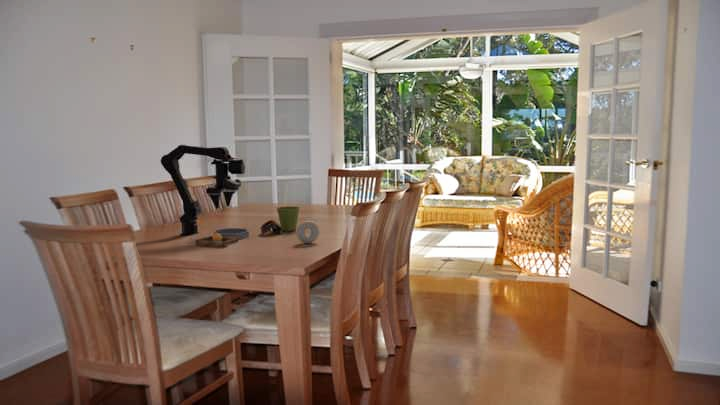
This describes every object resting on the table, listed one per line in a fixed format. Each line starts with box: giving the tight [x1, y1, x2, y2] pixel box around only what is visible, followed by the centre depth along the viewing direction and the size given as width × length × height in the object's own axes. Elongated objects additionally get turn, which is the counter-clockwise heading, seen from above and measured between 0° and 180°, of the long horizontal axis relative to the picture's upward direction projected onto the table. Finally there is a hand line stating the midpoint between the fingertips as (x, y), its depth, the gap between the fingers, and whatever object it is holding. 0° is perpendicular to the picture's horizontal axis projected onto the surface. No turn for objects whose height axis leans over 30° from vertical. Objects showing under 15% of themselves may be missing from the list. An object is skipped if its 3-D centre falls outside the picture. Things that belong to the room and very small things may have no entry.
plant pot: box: [275, 205, 301, 232], centre depth 294 cm, size 12×12×11 cm
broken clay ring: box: [260, 219, 283, 236], centre depth 281 cm, size 12×10×8 cm
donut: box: [296, 220, 320, 244], centre depth 260 cm, size 10×4×10 cm, turn 111°
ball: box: [212, 234, 222, 242], centre depth 258 cm, size 4×4×4 cm
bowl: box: [213, 227, 250, 240], centre depth 273 cm, size 15×15×3 cm
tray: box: [195, 235, 239, 249], centre depth 258 cm, size 14×11×2 cm
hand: (222, 207), depth 280 cm, fingers open, 9 cm apart
